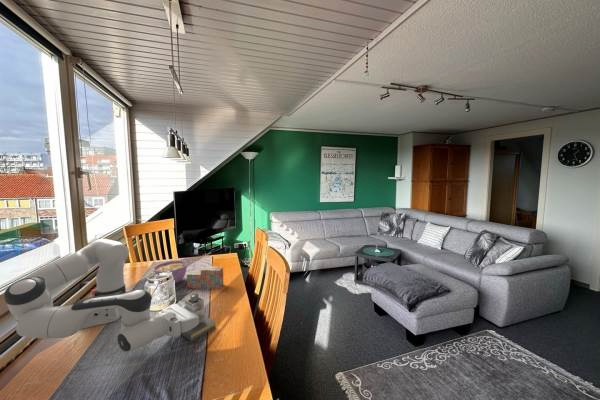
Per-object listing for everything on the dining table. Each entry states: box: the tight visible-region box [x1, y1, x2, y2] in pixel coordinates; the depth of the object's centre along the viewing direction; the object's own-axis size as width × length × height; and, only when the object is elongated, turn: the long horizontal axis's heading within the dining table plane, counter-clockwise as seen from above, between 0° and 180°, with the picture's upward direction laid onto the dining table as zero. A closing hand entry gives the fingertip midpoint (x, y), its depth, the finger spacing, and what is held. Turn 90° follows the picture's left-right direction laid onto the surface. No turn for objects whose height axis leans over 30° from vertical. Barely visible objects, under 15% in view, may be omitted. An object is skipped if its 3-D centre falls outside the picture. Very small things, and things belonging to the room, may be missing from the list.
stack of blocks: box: [186, 266, 224, 290], centre depth 158 cm, size 21×6×12 cm, turn 87°
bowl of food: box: [153, 260, 188, 284], centre depth 164 cm, size 20×20×12 cm
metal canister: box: [190, 293, 199, 304], centre depth 113 cm, size 3×3×3 cm
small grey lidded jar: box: [185, 297, 206, 325], centre depth 113 cm, size 6×6×10 cm
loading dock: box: [181, 314, 217, 342], centre depth 114 cm, size 12×12×3 cm
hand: (196, 308), depth 114 cm, fingers closed on small grey lidded jar, 5 cm apart
